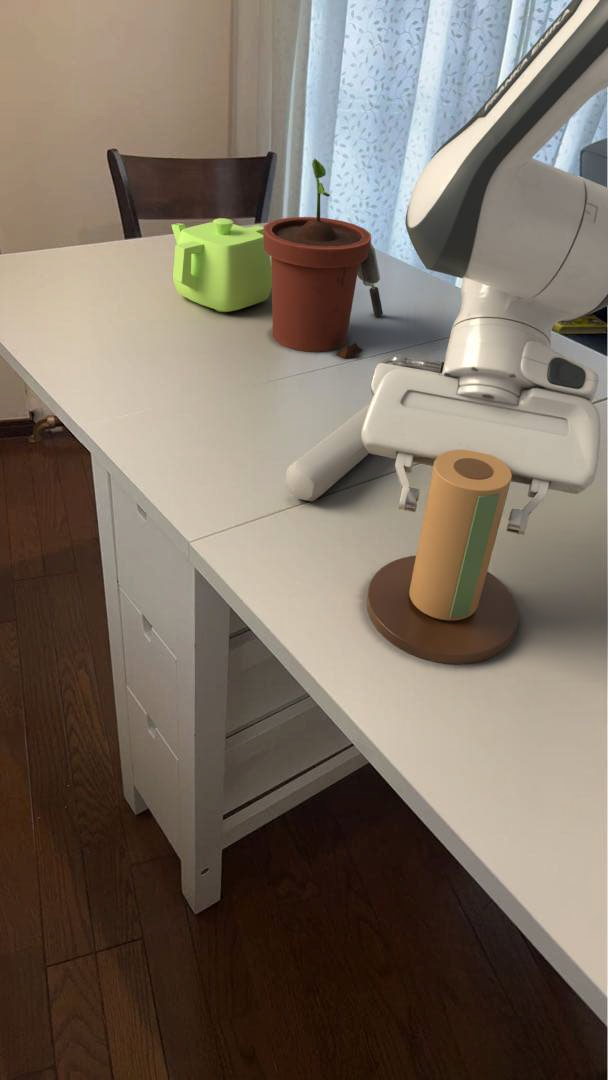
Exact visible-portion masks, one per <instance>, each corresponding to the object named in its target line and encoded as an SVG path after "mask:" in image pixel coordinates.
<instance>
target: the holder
mask: <svg viewBox="0 0 608 1080" xmlns="http://www.w3.org/2000/svg"><path fill="white" fill-rule="evenodd" d="M415 559H416V555H410V556H405V557H401V558H398V559H395V560H392V561H391V562H389V563H387V564H385V565H384V566H382V567H381V568H380V569H379V570H378V571H377V572H376V573H375V574H374V575H373V577H372V578H371V580H370V582H369V586H368V589H367V595H366V608H367V609H366V610H367V612H368V617H369V619H370V621H371V623H372V625H373V626H374V627H375V630H377V632H378V633H379V634H380V635H382V637H383V638H384V639H386V640H387V641H388V642H389V643H391V644H392V645H393V646H394V647H397V648H398V649H399V650H401V651H403V652H405V653H407V654H409V655H412V656H415V657H418V658H419V659H422V660H427V661H429V662H435V663H442V664H448V665H449V664H450V665H451V664H452V665H463V664H464V665H465V664H472V663H478V662H481V661H484V660H488V659H490V658H492V657H494V656H496V655H498V654H499V653H501V652H502V651H504V649H506V648H507V647H508V646H509V645H510V643H511V642H512V640H513V638H514V635H515V633H516V630H517V626H518V624H519V623H518V622H519V615H520V614H519V608H518V605H517V602H516V599H515V597H514V595H513V594H512V592H511V591H510V590H509V588H508V587H507V586H506V585H505V584H504V583H503V582H502V581H501V580H500V579H498V578H497V577H496V576H495V575H493V574H492V573H490V572H489V571H487V574H486V578H485V581H484V585H483V589H482V593H481V596H480V600H479V604H478V607H477V609H476V611H475V612H474V613H473V614H472V615H470V616H469V617H467V618H464V619H461V620H451V621H450V620H441V619H437V618H434V617H431V616H429V615H427V614H425V613H423V612H422V611H420V610H419V609H418V608H417V607H416V606H415V605H414V604H413V602H412V601H411V598H410V594H409V591H410V585H411V580H412V575H413V570H414V565H415Z"/></svg>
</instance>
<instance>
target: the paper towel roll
mask: <svg viewBox="0 0 608 1080" xmlns="http://www.w3.org/2000/svg"><path fill="white" fill-rule="evenodd" d="M511 479H512V474H511V471H510V469H509V467H508V466H507V465H506V464H505V463H504V462H502V461H501V460H499V459H498V458H496V457H494V456H492V455H489V454H484V453H479V452H474V451H469V450H452V451H448V452H445V453H443V454H441V455H439V456H438V457H437V458H436V460H435V462H434V466H432V472H431V477H430V482H429V488H428V493H427V498H426V503H425V508H424V513H423V519H422V523H421V529H420V534H419V540H418V545H417V549H416V550H417V551H416V555H415V556H416V559H415V565H414V570H413V575H412V580H411V585H410V591H409V594H410V598H411V601H412V602H413V604H414V605H415V606H416V607H417V608H418V609H419V610H420V611H422V612H423V613H425V614H427V615H429V616H431V617H434V618H437V619H441V620H450V621H451V620H461V619H464V618H467V617H469V616H470V615H472V614H473V613H474V612H475V611H476V609H477V607H478V604H479V600H480V596H481V593H482V589H483V585H484V581H485V578H486V574H487V572H488V570H489V567H490V562H491V559H492V555H493V551H494V546H495V543H496V540H497V536H498V531H499V528H500V524H501V520H502V517H503V513H504V510H505V509H504V508H505V506H506V501H507V498H508V494H509V490H510V486H511V484H512V482H511Z"/></svg>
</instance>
